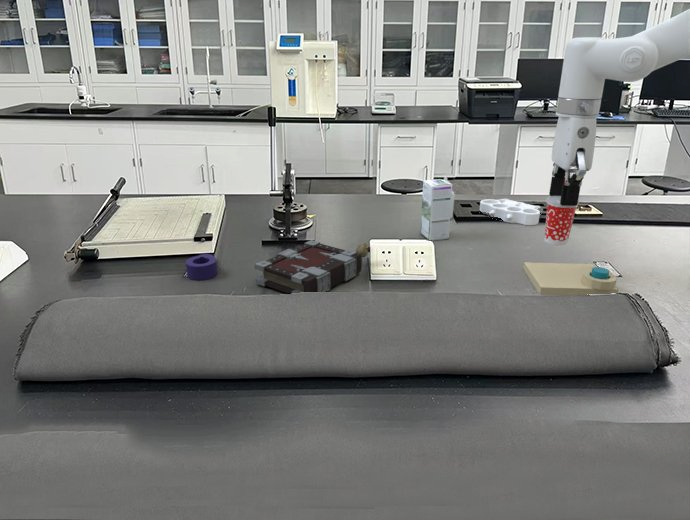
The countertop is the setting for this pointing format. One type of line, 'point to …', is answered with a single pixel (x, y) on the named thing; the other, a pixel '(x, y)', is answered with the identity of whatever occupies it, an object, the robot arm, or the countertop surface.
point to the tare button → (600, 273)
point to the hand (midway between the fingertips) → (562, 199)
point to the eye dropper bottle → (451, 200)
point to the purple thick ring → (201, 267)
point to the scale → (568, 279)
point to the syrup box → (436, 209)
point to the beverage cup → (558, 221)
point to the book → (310, 267)
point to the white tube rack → (512, 211)
